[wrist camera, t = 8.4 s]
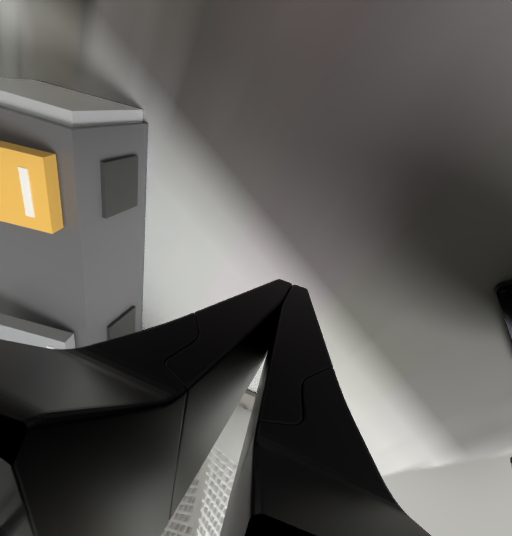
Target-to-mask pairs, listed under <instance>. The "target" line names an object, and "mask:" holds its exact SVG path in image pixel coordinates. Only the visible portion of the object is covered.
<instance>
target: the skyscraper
mask: <svg viewBox="0 0 512 536" xmlns="http://www.w3.org/2000/svg"><path fill="white" fill-rule="evenodd" d="M255 397H256V393H254V392H251V391H249V390H246V391H245V393H244V395H243V397H242V398H241V400H240V402H239V403H238V405H237V407H236V409H235V410H234V412H233V414H232V415H231V417H230V419H229V420H228V422H227V424H226V426H225V427H224V429H223V431H222V432H221V434H220V436H219V437H218V439H217V441H216V443H215V444H214V446H213V448H212V449H211V451H210V453H209V454H208V456H207V458H206V460H205V461H204V463H203V465H202V466H201V468H200V470H199V472H198V473H197V475H196V477H195V478H194V480H193V482H192V483H191V485H190V487H189V489H188V490H187V492H186V494H185V495H184V497H183V499H182V500H181V502H180V504H179V506H178V507H177V509H176V511H175V512H174V514H173V516H172V518H171V519H170V520H169V521H168V525H167V526H166V528H165V530H164V531H163V533H162V535H161V536H220V532H221V528H222V524H223V520H224V517H225V513H226V509H227V505H228V501H229V497H230V493H231V490H232V486H233V482H234V478H235V474H236V470H237V466H238V463H239V459H240V455H241V451H242V447H243V443H244V439H245V436H246V432H247V428H248V424H249V420H250V416H251V412H252V408H253V405H254V401H255Z"/></svg>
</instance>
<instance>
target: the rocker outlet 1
mask: <svg viewBox="0 0 512 536" xmlns="http://www.w3.org/2000/svg"><path fill="white" fill-rule="evenodd" d="M0 221H2V222H6V223H11V224H15V225H19V226H23V227H27V228H31V229H35V230H39V231H43V232H47V233H51V234H53V233H55V232H57V231H58V230H60V229H62V228H64V227H63V218H62V208H61V199H60V189H59V180H58V170H57V161H56V154H53V153H49V152H45V151H41V150H37V149H33V148H29V147H25V146H20V145H16V144H12V143H8V142H4V141H0Z"/></svg>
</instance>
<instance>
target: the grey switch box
mask: <svg viewBox="0 0 512 536" xmlns="http://www.w3.org/2000/svg"><path fill="white" fill-rule="evenodd" d="M147 140H148V124H147V123H144V122H143V109H139V108H135V107H132V106H128V105H125V104H121V103H117V102H114V101H110V100H106V99H103V98H99V97H96V96H92V95H88V94H85V93H81V92H77V91H74V90H70V89H66V88H63V87H59V86H56V85H52V84H48V83H45V82H41V81H37V80H30V79H17V78H3V77H0V141H4V142H8V143H12V144H16V145H20V146H25V147H29V148H33V149H37V150H41V151H45V152H49V153H53V154H56V161H57V170H58V180H59V189H60V199H61V208H62V218H63V227H64V228H62V229H60V230H58V231H57V232H55V233H53V234H51V233H47V232H43V231H39V230H35V229H31V228H27V227H23V226H19V225H15V224H11V223H6V222H2V221H0V313H1V314H5V315H8V316H12V317H16V318H19V319H23V320H27V321H30V322H34V323H38V324H41V325H45V326H48V327H52V328H56V329H59V330H63V331H67V332H70V333H74V339H75V348H80V347H84V346H88V345H92V344H96V343H99V342H103V341H106V340H110V339H113V338H117V337H120V336H124V335H127V334H131V333H135V332H138V331H142V302H143V270H144V237H145V205H146V172H147Z"/></svg>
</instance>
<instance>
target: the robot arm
mask: <svg viewBox="0 0 512 536" xmlns="http://www.w3.org/2000/svg"><path fill="white" fill-rule="evenodd" d="M505 289H509V292H507V293H501V292H502V291H503V290H505ZM494 292H495V295H496V298H497V301H498V303H499V306H500V309H501V312H502V315H503V317H504V320H505V323H506V326H507V329H508V332H509V334H510V337H511V340H512V280H510V281H506V282H502V283H500V284H498V285H497V286H496V287H495V289H494ZM266 355H267V356H266ZM265 357H266V359H265ZM264 359H265V363H264V366H263V370H262V374H261V378H260V381H259V385H258V389H257V393H256V397H255V401H254V405H253V408H252V412H251V416H250V420H249V424H248V428H247V432H246V436H245V439H244V443H243V447H242V451H241V455H240V459H239V463H238V466H237V470H236V474H235V478H234V482H233V486H232V490H231V493H230V497H229V501H228V505H227V509H226V513H225V517H224V520H223V524H222V528H221V532H220V536H431V535H430V534H429V533H427V532H426V531H425V530H424V529H423V528H422V527H421V526H419V525H418V524H417V523H416V522H415V521H414V520H412V519H411V518H410V517H409V516H408V515H407V514H406V513H405V512H404V511H403V510H402V509H401V507H400V506H399V505H398V503H397V502H396V501H395V499H394V498H393V496H392V495H391V493H390V491H389V490H388V488H387V486H386V485H385V483H384V481H383V479H382V477H381V475H380V473H379V471H378V469H377V467H376V465H375V463H374V461H373V458H372V456H371V454H370V452H369V450H368V448H367V446H366V444H365V442H364V440H363V438H362V436H361V434H360V432H359V430H358V427H357V425H356V423H355V421H354V419H353V417H352V415H351V412H350V410H349V408H348V406H347V404H346V401H345V399H344V397H343V394H342V391H341V388H340V386H339V383H338V380H337V377H336V374H335V371H334V369H333V365H332V362H331V359H330V356H329V353H328V350H327V347H326V344H325V341H324V338H323V335H322V332H321V329H320V326H319V323H318V320H317V317H316V314H315V311H314V308H313V305H312V302H311V299H310V296H309V293H308V290H307V289H306V288H303V287H300V286H297V285H293V286H292V284H291V283H289V282H286V281H283V280H281V279H278V280H275V281H272V282H270V283H267V284H265V285H262V286H260V287H257V288H255V289H252V290H250V291H247V292H245V293H242V294H239V295H237V296H234V297H232V298H229V299H227V300H224V301H222V302H219V303H217V304H214V305H212V306H209V307H207V308H204V309H202V310H199V311H196V312H195V314H194V313H191V314H189V315H186V316H184V317H181V318H178V319H175V320H173V321H170V322H167V323H164V324H161V325H158V326H155V327H151V328H148V329H145V330H142V331H138V332H135V333H131V334H127V335H124V336H120V337H117V338H113V339H110V340H106V341H103V342H99V343H96V344H92V345H88V346H84V347H80V348H73V349H50V348H44V347H38V346H33V345H28V344H23V343H18V342H12V341H7V340H2V339H0V536H161V535H162V533H163V531H164V530H165V528H166V526H167V525H168V521H169V520H170V519H171V518H172V516H173V514H174V512H175V511H176V509H177V507H178V506H179V504H180V502H181V500H182V499H183V497H184V495H185V494H186V492H187V490H188V489H189V487H190V485H191V483H192V482H193V480H194V478H195V477H196V475H197V473H198V472H199V470H200V468H201V466H202V465H203V463H204V461H205V460H206V458H207V456H208V454H209V453H210V451H211V449H212V448H213V446H214V444H215V443H216V441H217V439H218V437H219V436H220V434H221V432H222V431H223V429H224V427H225V426H226V424H227V422H228V420H229V419H230V417H231V415H232V414H233V412H234V410H235V409H236V407H237V405H238V403H239V402H240V400H241V398H242V397H243V395H244V393H245V391H246V390H247V388H248V386H249V385H250V383H251V381H252V380H253V378H254V376H255V374H256V373H257V371H258V369H259V368H260V366H261V364H262V362H263V361H264ZM510 460H511V466H512V457H511V459H510Z"/></svg>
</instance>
